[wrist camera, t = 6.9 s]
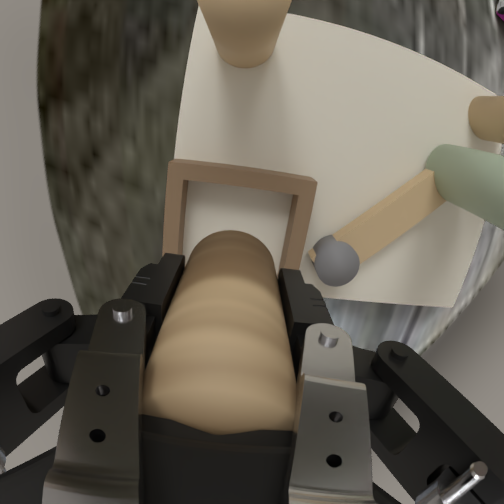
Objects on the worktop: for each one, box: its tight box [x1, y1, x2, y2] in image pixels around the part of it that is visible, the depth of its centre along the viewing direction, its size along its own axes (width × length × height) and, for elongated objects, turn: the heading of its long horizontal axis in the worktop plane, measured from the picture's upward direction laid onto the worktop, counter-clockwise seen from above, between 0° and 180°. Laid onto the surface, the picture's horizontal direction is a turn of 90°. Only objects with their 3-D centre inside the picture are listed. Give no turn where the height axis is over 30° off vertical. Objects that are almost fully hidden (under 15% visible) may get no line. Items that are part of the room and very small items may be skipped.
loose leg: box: [142, 230, 296, 435], centre depth 9 cm, size 4×4×8 cm
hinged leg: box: [308, 144, 504, 287], centre depth 12 cm, size 12×3×10 cm, turn 127°
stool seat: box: [162, 0, 504, 308], centre depth 14 cm, size 16×21×9 cm
